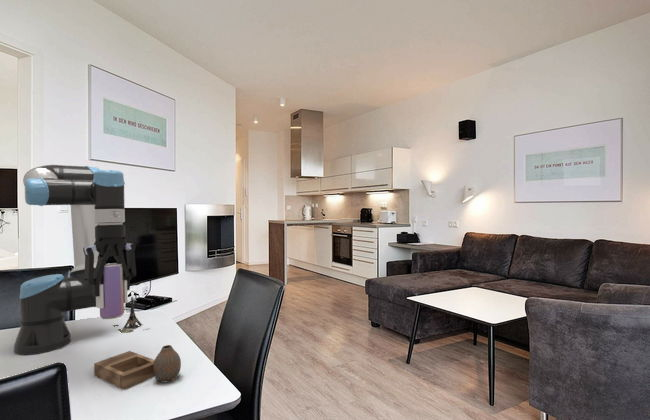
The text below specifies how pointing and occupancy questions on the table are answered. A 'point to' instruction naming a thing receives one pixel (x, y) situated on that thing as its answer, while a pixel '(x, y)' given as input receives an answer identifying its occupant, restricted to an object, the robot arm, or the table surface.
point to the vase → (167, 364)
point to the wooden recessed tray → (125, 369)
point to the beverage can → (112, 291)
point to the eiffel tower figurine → (130, 321)
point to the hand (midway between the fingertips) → (112, 304)
